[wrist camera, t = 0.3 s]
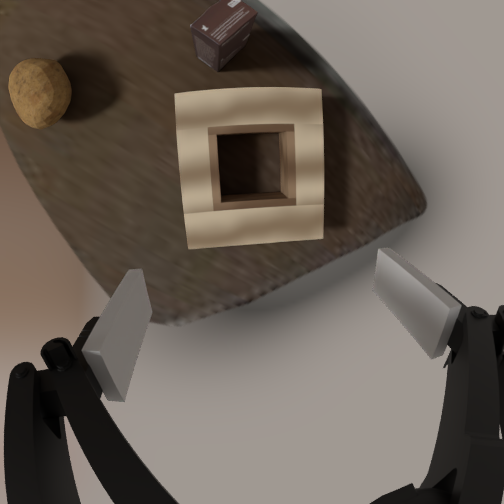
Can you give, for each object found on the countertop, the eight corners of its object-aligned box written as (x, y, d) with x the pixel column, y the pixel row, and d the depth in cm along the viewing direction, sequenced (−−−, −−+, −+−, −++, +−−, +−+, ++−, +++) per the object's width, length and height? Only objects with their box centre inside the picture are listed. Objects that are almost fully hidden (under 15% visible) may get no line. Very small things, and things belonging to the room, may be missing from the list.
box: (220, 74, 33) (219, 46, 22) (195, 56, 32) (185, 24, 21) (249, 46, 32) (259, 11, 21) (225, 29, 30) (226, -10, 19)
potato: (51, 49, 27) (25, 38, 20) (96, 92, 32) (71, 84, 24) (17, 96, 29) (-12, 93, 21) (57, 142, 33) (28, 145, 26)
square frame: (180, 99, 34) (174, 93, 29) (309, 94, 35) (321, 89, 31) (192, 237, 41) (188, 249, 37) (312, 227, 43) (323, 238, 38)
